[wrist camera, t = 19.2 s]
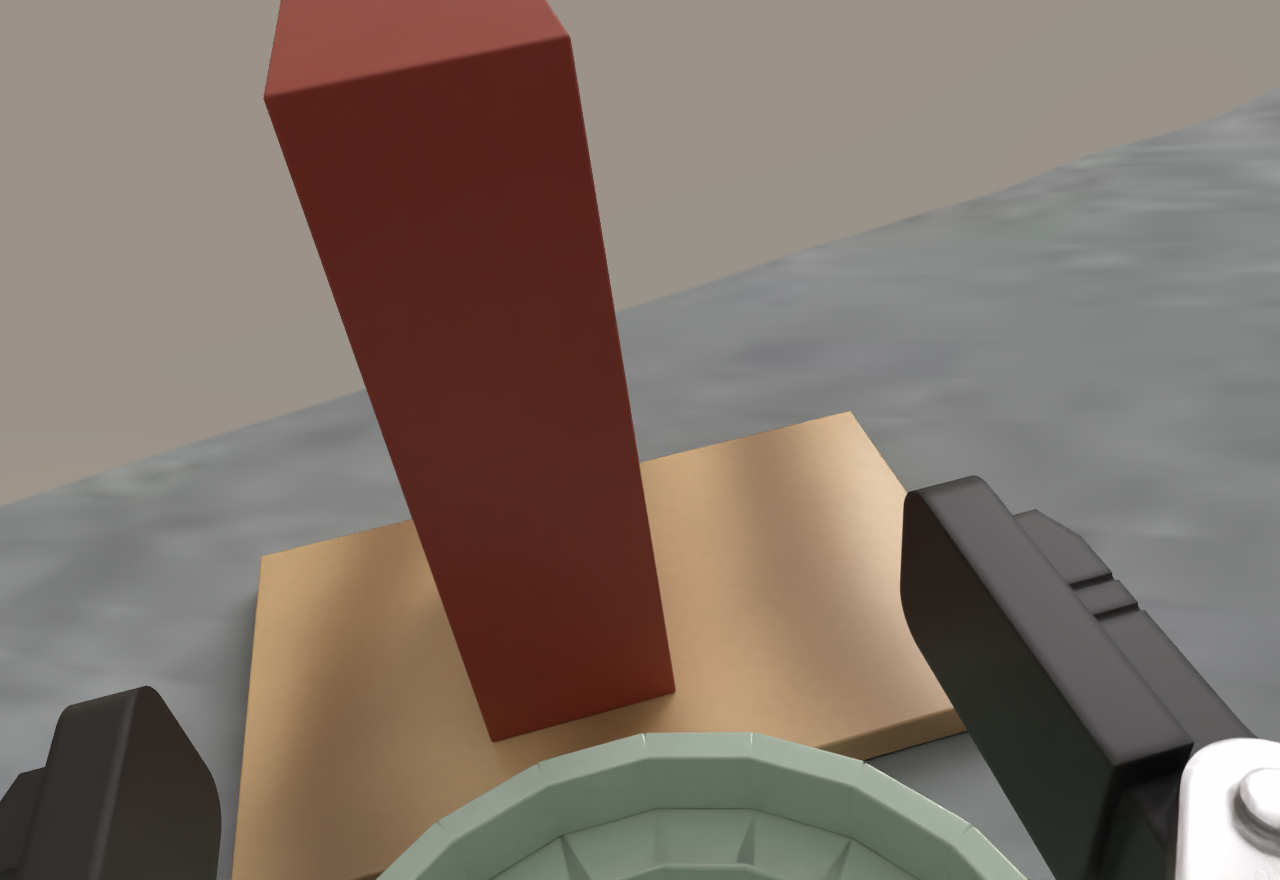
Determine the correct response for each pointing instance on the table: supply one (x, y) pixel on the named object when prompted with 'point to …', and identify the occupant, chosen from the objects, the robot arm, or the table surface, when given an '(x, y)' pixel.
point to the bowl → (701, 819)
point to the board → (703, 702)
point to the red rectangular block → (483, 332)
